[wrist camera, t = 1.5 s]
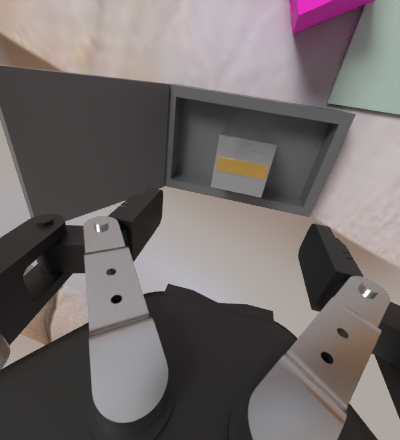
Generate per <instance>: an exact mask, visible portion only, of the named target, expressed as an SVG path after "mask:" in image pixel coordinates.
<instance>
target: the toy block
mask: <svg viewBox="0 0 400 440" xmlns="http://www.w3.org/2000/svg"><path fill="white" fill-rule="evenodd" d="M289 1H290V12H291V22H292V32H293V34H295V33H297V32H300V31H302V30H305V29H307V28H310V27H312V26H314V25H317V24H319V23H322V22H324V21H327V20H329V19H331V18H334V17H336V16H339V15H341V14H344V13H346V12H348V11H351V10H353V9H356V8H358V7H361V6H363V5H365V4H368V3H370V2H373V1H375V0H289Z"/></svg>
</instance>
